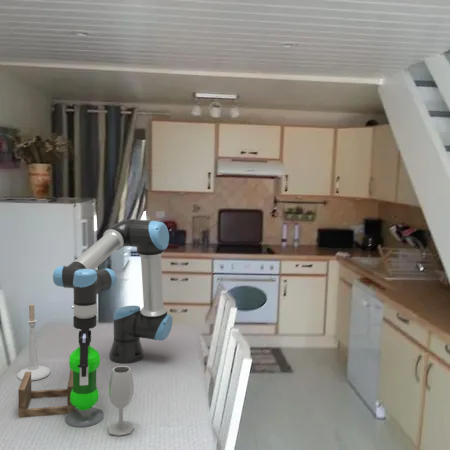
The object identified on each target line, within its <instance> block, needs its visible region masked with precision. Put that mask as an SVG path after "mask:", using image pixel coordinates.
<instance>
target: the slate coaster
mask: <svg viewBox="0 0 450 450" xmlns="http://www.w3.org/2000/svg"><path fill="white" fill-rule="evenodd" d="M104 418H105V412H104V411H103V410H102V409H100V408H98V407H95V406H92V407H91V408H90V409H87V410H79V409H77V408H74V411H73V412H69V413H67V414H65V417H64V420H65V424H67V425H68V426H69V427H73V428H87V427H88V428H89V427H92V426H95V425H98V424H99V423H100V422H102V421H103V420H104Z"/></svg>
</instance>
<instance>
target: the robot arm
mask: <svg viewBox="0 0 450 450" xmlns="http://www.w3.org/2000/svg"><path fill="white" fill-rule="evenodd" d="M169 241H170V232H169V230H168V227H167V225H166V224H165V223H164V222H163V221H157V220H146V219H134V218H133V219H126V220H122V221H120V222H117V223H116V224H113V225H112V226H110V227H109V228H108V229H106V230H105V231H104V232H103V234H102V237H100V238H99V239H98V240H97V241H96V242H95V243H93V244H92V245H91V246H90V247H89V248H87V250H85V251H84V252H83V253H81V254H80V255H79V256H78V257H77V258H75V260H73V261H72V262H71V263H70V264H68V266H67V265H59V266H57V267H56V268H55V269H54V271H53V274H52V281H53V283H54V285H55V286H57V287H62V288H64V289H65V288H67V289H73V305H71V309H73V315H74V316H73V325H72V326H73V328H75V329H76V330H79V331H78V345H79V346H78V347H80V365H78V367H80V386H81V385H88V346H91V342H90V338H91V339H92V329H94V328H96V326H97V311H98V302H97V301H98V300H97V297H98V294H100V293H103V292H106V291H109V290H111V289H112V288H113V287H114V286H115V285H116V283H117V281H118V279H117V275H116V272H115V270H112V269H111V268H102V269H97V268H98V267H99V266H101V264H102V263H103V262H104V261H106V259H108V258H109V257H110V256H111V255H112V254H113V253H114V252H115V251H119V250H121V249H122V248H124V247H134V248H136V254H137V255H139V256H140V264H141V266H140V267H141V281H142V283H141V284H142V285H141V286H142V299H143V301H142V303H143V307H142V308H141V307H140V306H139V305H125V306H122V307H119V308H116V309H115V310H114V314H113V341H112V345H111V347H110V351H109V359H110V360H111V361H112V362H115V363H119V364H129V363H131V364H132V363H135V362H138V361H140V360H142V359H143V358H144V350H143V347H142V344H141V338H142V339H147V340H153V341H165V340H166V339H167V338H168V336H169V335H170V333H171V331H172V329H173V323H174V322H173V316H172V315H171V314H169V313H168V308H167V307H166V306H165V305H164V292H163V291H164V289H163V269H162V255H163V254H164V253H165V250H166V249H167V248H168V246H169V244H170V243H169Z"/></svg>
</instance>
